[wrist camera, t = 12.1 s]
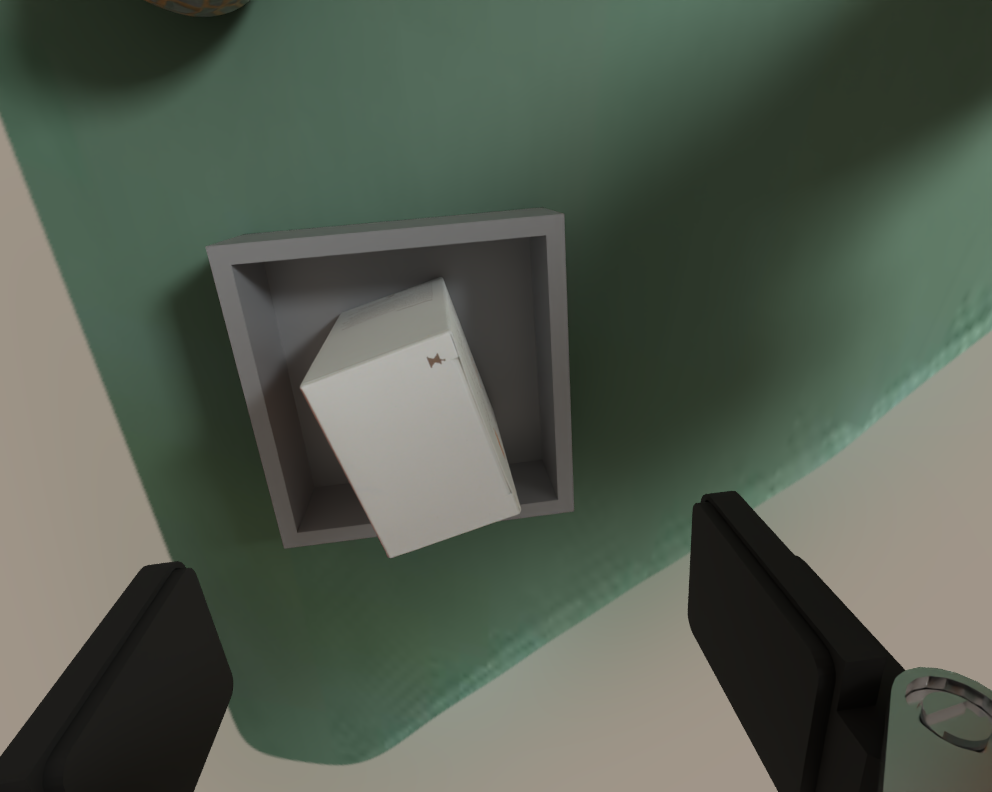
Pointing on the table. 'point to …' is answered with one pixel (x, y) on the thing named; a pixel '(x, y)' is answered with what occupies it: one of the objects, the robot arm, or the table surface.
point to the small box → (411, 419)
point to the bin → (371, 276)
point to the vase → (199, 6)
